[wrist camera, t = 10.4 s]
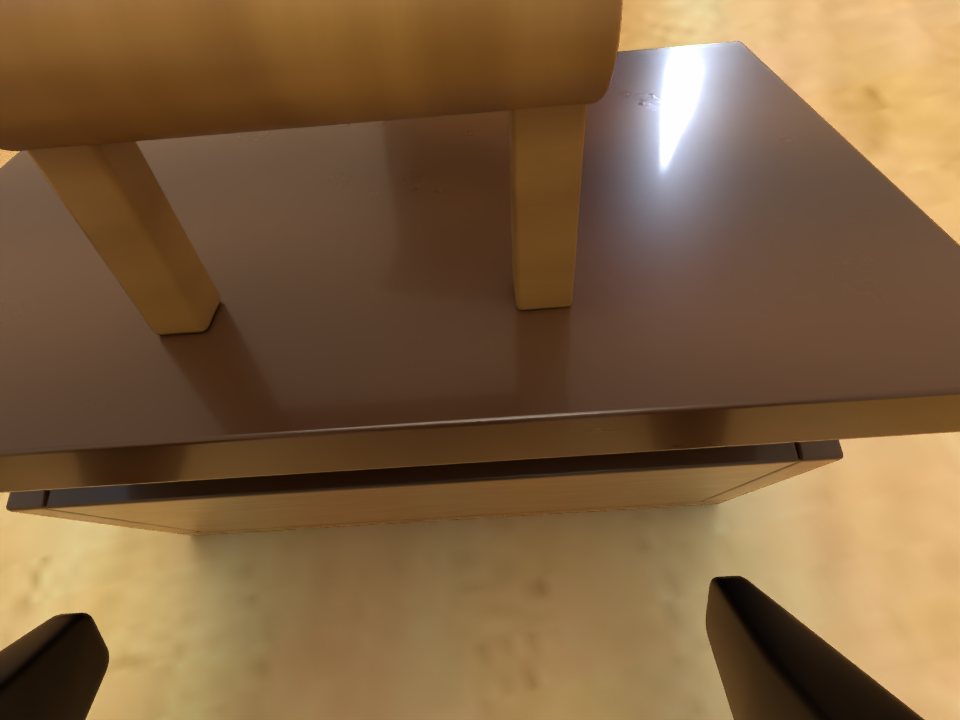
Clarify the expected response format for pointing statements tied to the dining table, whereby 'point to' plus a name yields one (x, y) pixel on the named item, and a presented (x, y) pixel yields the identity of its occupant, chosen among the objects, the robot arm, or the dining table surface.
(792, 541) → the dining table surface
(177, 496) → the brown wooden box
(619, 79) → the brown box lid
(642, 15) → the dining table surface
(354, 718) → the dining table surface
